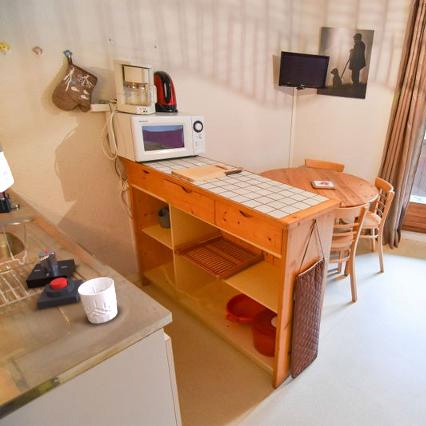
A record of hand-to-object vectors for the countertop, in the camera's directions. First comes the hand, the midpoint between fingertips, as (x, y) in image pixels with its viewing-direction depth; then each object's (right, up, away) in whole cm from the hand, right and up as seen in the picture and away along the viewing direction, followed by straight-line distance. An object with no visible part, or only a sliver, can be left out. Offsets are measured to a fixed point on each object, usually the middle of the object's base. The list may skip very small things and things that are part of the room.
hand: (3, 212), depth 91 cm
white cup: (+31, -29, -3) cm, 42 cm away
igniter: (+14, -25, +3) cm, 29 cm away
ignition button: (+15, -22, +2) cm, 26 cm away
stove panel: (+5, -21, +11) cm, 24 cm away
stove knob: (+5, -18, +10) cm, 21 cm away
